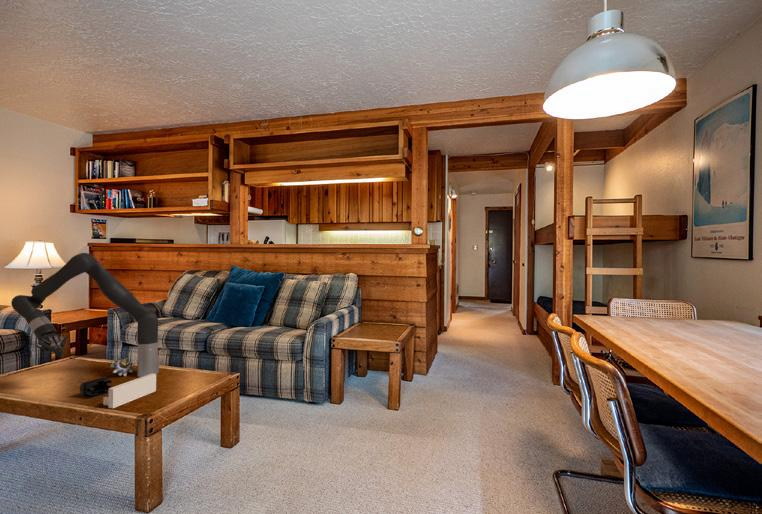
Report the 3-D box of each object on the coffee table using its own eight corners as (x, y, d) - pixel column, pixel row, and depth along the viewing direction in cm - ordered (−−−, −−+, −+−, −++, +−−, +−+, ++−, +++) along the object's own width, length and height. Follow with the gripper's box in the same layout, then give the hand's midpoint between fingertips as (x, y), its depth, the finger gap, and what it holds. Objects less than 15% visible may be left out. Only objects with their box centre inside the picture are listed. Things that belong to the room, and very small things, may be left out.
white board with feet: (143, 389, 183) (143, 372, 183) (156, 390, 181) (156, 373, 181) (98, 406, 162) (99, 387, 162) (112, 408, 160) (113, 389, 160)
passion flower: (124, 386, 203) (115, 372, 196) (109, 380, 206) (99, 366, 199) (142, 369, 211) (133, 355, 204) (127, 364, 215) (118, 350, 208)
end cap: (102, 390, 182) (102, 375, 182) (112, 392, 179) (112, 377, 179) (79, 396, 173) (79, 381, 173) (89, 399, 170) (89, 383, 170)
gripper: (31, 325, 177) (50, 354, 174) (61, 321, 190) (80, 347, 187) (22, 336, 179) (41, 364, 175) (53, 331, 191) (71, 357, 188)
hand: (61, 356), depth 181 cm, fingers closed
